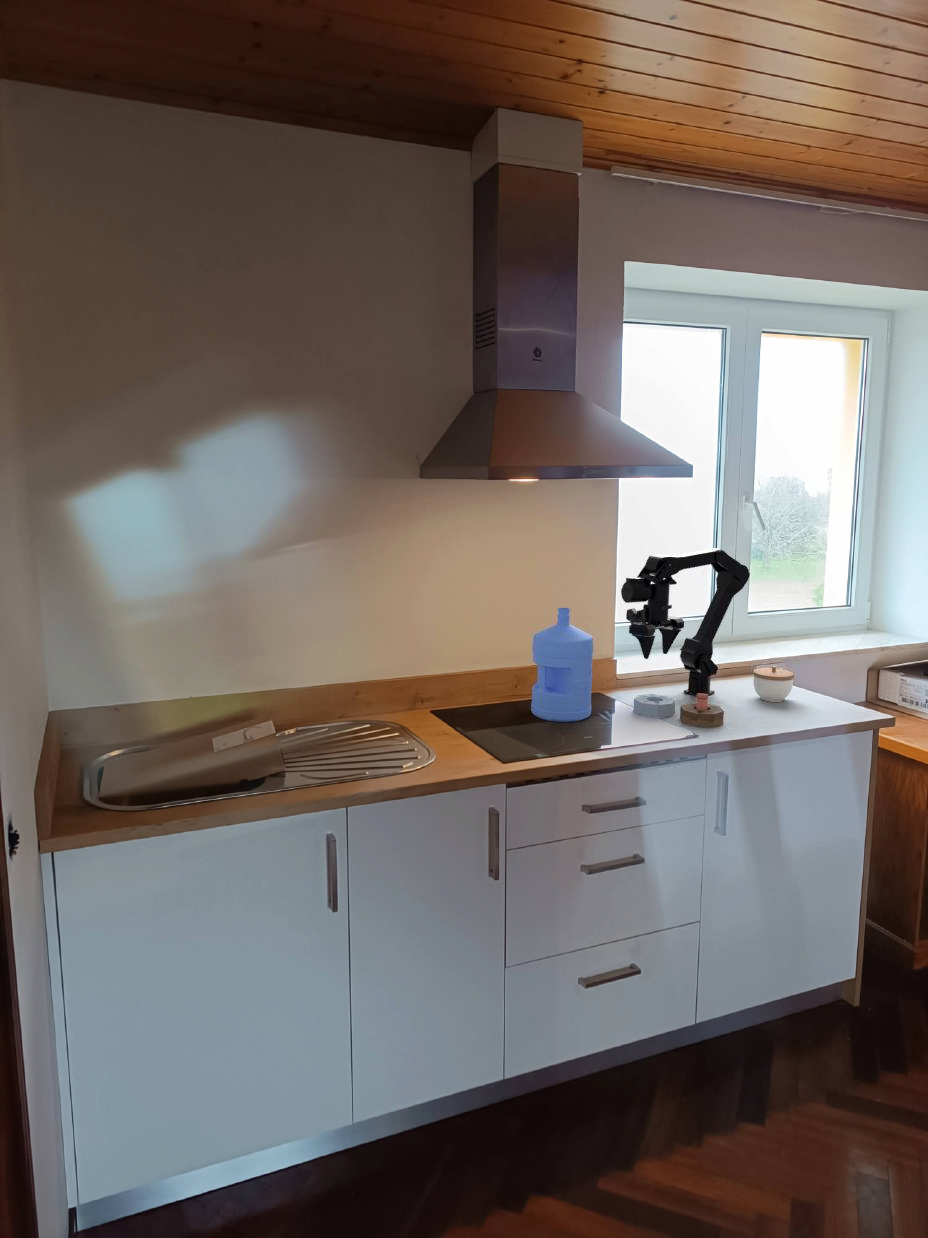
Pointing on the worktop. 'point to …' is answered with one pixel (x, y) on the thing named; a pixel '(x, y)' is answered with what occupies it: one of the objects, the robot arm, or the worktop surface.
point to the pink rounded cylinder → (702, 702)
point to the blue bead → (654, 705)
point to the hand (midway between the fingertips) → (655, 656)
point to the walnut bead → (701, 715)
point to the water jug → (562, 671)
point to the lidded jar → (773, 683)
